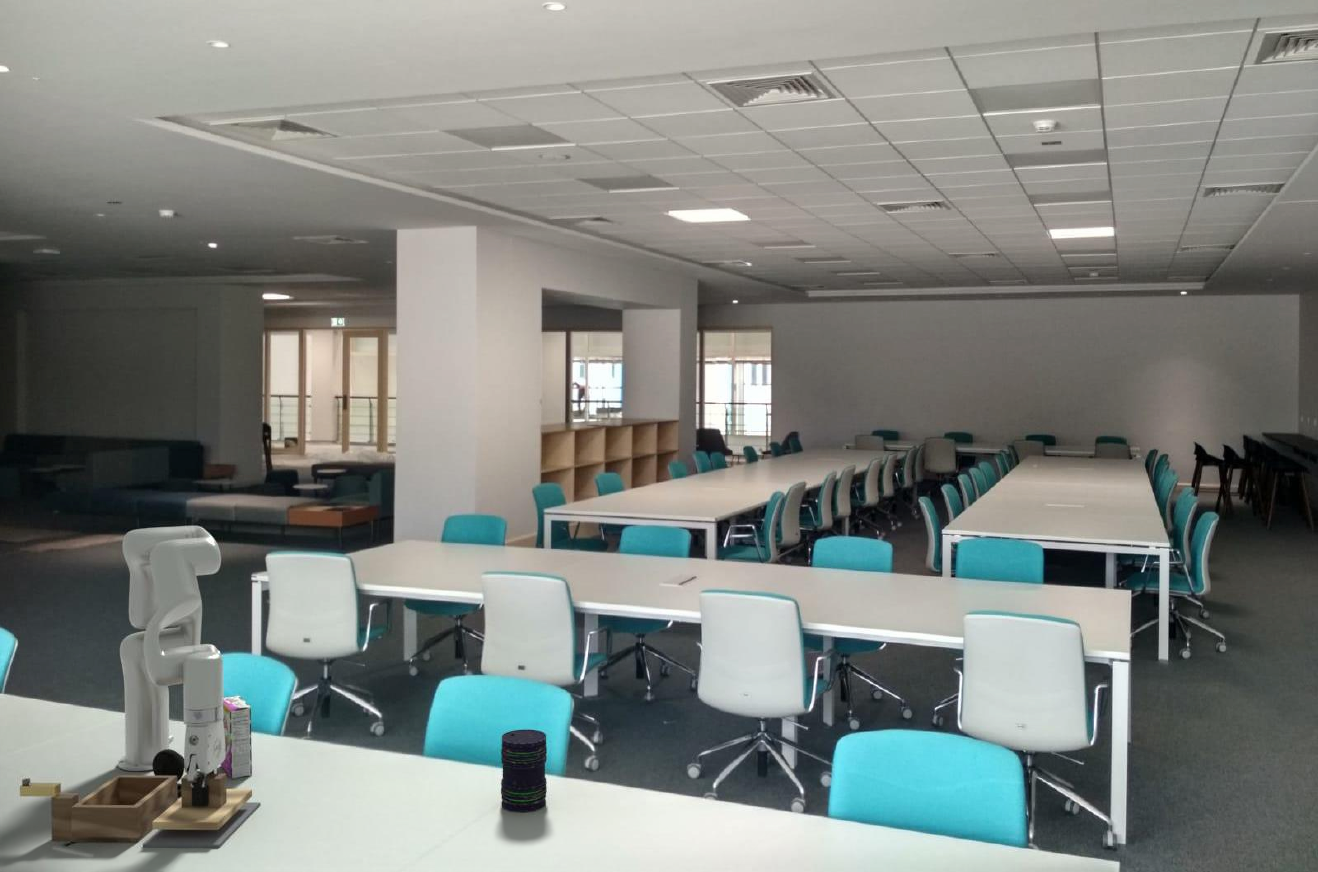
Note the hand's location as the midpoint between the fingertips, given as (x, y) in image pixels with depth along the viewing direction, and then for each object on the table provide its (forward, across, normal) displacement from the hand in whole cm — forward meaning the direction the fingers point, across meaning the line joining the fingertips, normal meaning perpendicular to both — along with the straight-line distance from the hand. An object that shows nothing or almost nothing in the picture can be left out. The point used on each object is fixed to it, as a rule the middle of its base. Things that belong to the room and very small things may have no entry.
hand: (204, 801), depth 225 cm
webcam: (+5, +17, +15) cm, 23 cm away
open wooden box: (+5, 0, +18) cm, 19 cm away
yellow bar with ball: (-4, -7, +30) cm, 31 cm away
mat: (+5, 0, 0) cm, 5 cm away
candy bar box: (+5, +32, +6) cm, 33 cm away
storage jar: (+5, +13, -64) cm, 66 cm away
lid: (+2, 0, 0) cm, 2 cm away
